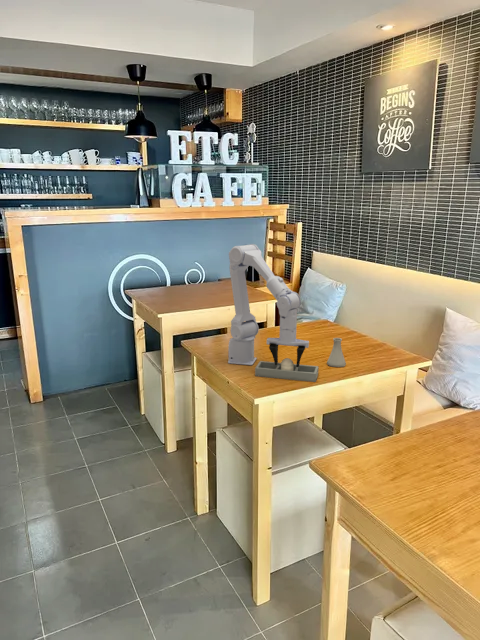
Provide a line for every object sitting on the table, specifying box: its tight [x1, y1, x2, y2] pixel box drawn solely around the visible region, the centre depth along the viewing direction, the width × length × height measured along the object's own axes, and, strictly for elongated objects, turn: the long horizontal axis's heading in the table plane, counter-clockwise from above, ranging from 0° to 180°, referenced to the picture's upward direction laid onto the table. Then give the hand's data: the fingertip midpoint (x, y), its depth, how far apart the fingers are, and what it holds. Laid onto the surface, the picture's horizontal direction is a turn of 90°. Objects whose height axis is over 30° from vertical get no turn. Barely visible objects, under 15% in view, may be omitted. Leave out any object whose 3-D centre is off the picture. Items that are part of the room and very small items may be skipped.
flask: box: [326, 337, 347, 368], centre depth 183 cm, size 7×7×10 cm
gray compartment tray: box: [254, 360, 319, 383], centre depth 173 cm, size 21×8×3 cm, turn 75°
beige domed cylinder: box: [280, 357, 295, 371], centre depth 173 cm, size 4×4×5 cm
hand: (286, 365), depth 173 cm, fingers open, 7 cm apart
